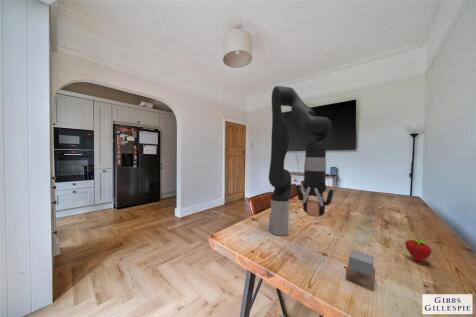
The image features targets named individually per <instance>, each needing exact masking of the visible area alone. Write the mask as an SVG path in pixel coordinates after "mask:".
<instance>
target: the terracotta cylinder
mask: <svg viewBox="0 0 476 317" xmlns="http://www.w3.org/2000/svg"><path fill="white" fill-rule="evenodd" d="M319 208H320V203H319V200H314V199H309V200H307V213H306V215H307V216H309V217H313V218H319V217H321V216H319Z"/></svg>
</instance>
